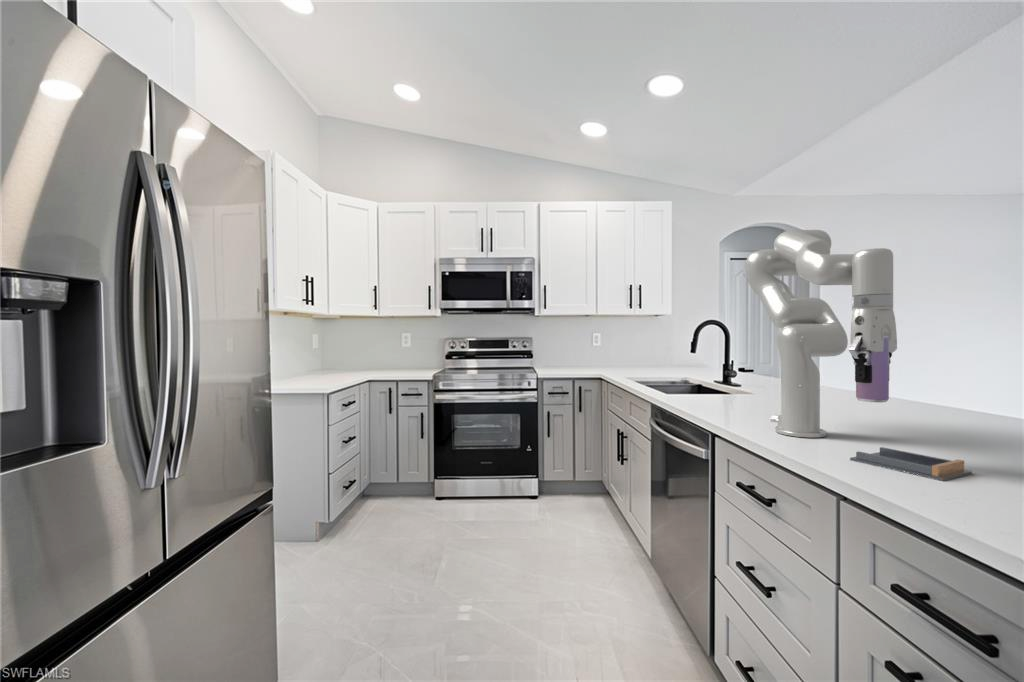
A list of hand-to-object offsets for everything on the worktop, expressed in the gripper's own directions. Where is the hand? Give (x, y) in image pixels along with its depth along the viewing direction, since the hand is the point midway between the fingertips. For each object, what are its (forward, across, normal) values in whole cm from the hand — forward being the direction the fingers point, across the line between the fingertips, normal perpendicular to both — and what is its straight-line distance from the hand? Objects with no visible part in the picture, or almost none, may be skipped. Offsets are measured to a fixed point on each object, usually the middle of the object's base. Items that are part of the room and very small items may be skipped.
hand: (872, 381), depth 107 cm
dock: (+18, 0, -6) cm, 19 cm away
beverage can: (+5, 0, 0) cm, 5 cm away
